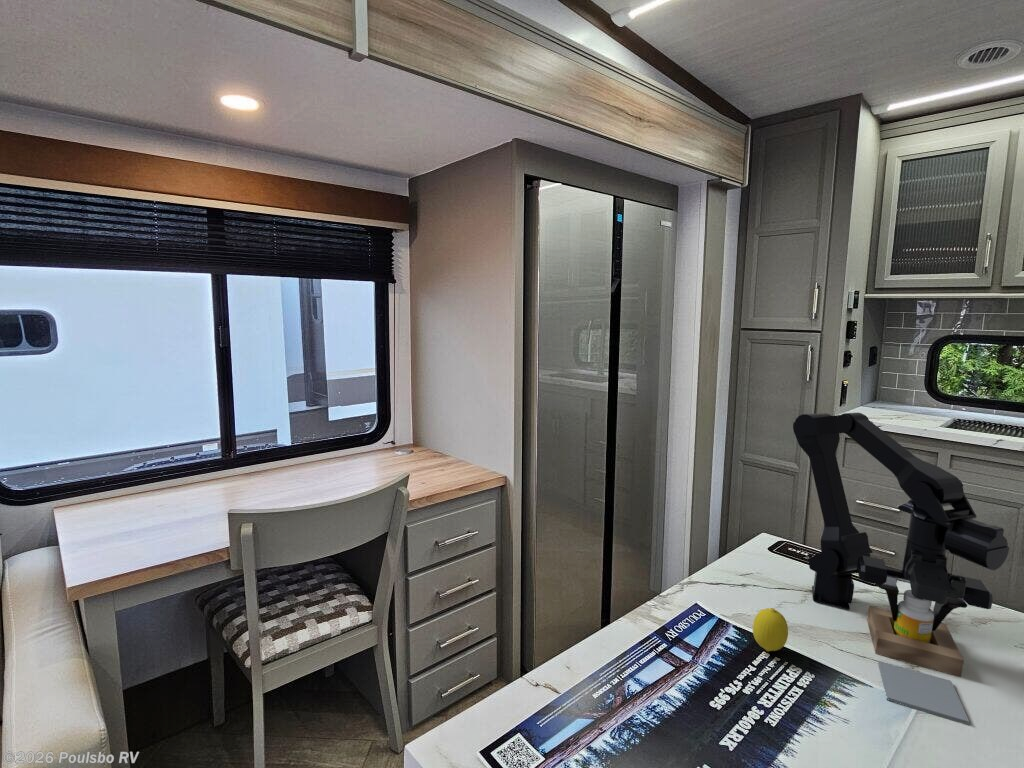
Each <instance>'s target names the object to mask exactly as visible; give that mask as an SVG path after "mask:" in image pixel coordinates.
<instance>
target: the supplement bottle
mask: <svg viewBox="0 0 1024 768" xmlns="http://www.w3.org/2000/svg"><path fill="white" fill-rule="evenodd" d="M902 599H903V600H901V601H898V603H897V618H896V621H895V623H894V629H893V632H894V635H898V636H902V637H906V638H910V639H914V640H918V641H922V642H926V643H930V638H931V632H932V626H933V621H934V613H933V610H932V609H931V607H932V602H933V601H929V600H925V599H923V600H921V599H917V598H915V597H914V596H913V595H912V593H911V589H906V590H904V593H903V598H902Z"/></svg>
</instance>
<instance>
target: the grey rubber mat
mask: <svg viewBox="0 0 1024 768" xmlns="http://www.w3.org/2000/svg"><path fill="white" fill-rule="evenodd" d="M877 664H878V669H879V673H880V677H881V682H882V685H883V690H884V689H885V690H884V693H885V692H886V694H885V697H886V696H887V698H886V700H887V699H889V700H891V701H890V702H892V701H894V702H893V703H895V702H897V703H896V704H898V703H901V704H904V705H903V706H905V705H906V707H908V706H910V707H909V708H911V707H913V709H915V710H918V711H922V712H925V713H928V714H932V715H935V716H939V717H941V718H946V719H948V720H952V721H954V722H955V721H956V722H959V723H962V724H965V725H969V723H970V721H969V718H968V716H967V714H966V712H965V710H964V707H963V704H962V702H961V700H960V698H959V696H958V693H957V691H956V689H955V685H953V681H952V680H950V679H946V678H942V677H939V676H935V675H932V674H927V673H924V672H920V671H918V670H914V669H910V668H908V667H903V666H899V665H896V664H892V663H888V662H885V661H880V660H878V661H877ZM901 704H900V705H901Z"/></svg>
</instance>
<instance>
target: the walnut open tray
mask: <svg viewBox="0 0 1024 768" xmlns="http://www.w3.org/2000/svg"><path fill="white" fill-rule="evenodd" d="M866 617H867V618H866V622H867V625H868V629H869V633H870V637H871V641H872V642H871V643H872V646H873V649H874V650H873V651H874V653H875V654H876V655H880V656H882V657H888V658H891V659H895V660H898V661H902V662H904V663H909V664H913V665H916V666H921V667H924V668H928V669H931V670H933V671H934V670H935V671H939V672H941V673H946V674H949V675H953V676H957V677H962V672H963V667H964V662H965V660H964V657H963V656H962V654H961V652H960V649H959V647H958V646H957V644H956V642H955V639H954V638H953V635H952V634H951V632H950V630H949V627H948V626H947V624H946V623H943V622H941V624H940V625H939V626H938V627H937V629H936V630H935V631H933V630H932V632H931V638H930V643H926V642H922V641H918V640H914V639H910V638H906V637H902V636H898V635H894V632H893V629H894V623H895V621H893V618H892V614H891V610H890V609H885V608H882V607H879V606H874V605H868V610H867V616H866Z"/></svg>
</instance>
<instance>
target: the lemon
mask: <svg viewBox="0 0 1024 768" xmlns="http://www.w3.org/2000/svg"><path fill="white" fill-rule="evenodd" d="M752 634H753V638H754V640H755V641H756V643H757V644H758V645H759V646H760V647H761V648H762V649H764V650H765V651H766V652H769V653H770V652H776V651H779V650H781V649H782V648H783V647H784V646H785V645H786V644H787V641H788V637H789V627H788V622H787V620H786V618H785V617H784V615H783V614H782V613H781V612H780V611H779V610H776V609H775V608H773V607H770V608H763V609H761V610H760V611H758V612H757V613H756V615H755V617H754V619H753V624H752Z"/></svg>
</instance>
